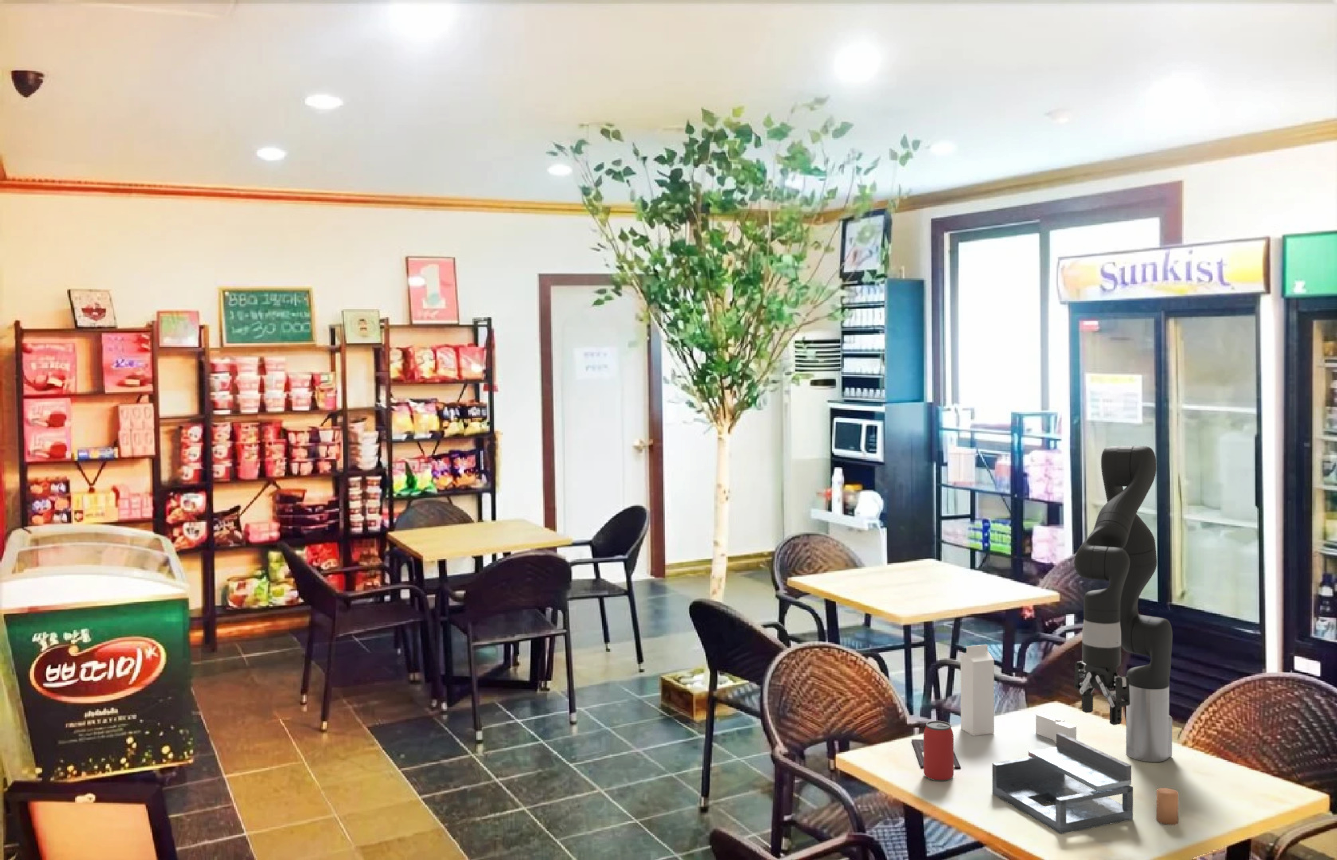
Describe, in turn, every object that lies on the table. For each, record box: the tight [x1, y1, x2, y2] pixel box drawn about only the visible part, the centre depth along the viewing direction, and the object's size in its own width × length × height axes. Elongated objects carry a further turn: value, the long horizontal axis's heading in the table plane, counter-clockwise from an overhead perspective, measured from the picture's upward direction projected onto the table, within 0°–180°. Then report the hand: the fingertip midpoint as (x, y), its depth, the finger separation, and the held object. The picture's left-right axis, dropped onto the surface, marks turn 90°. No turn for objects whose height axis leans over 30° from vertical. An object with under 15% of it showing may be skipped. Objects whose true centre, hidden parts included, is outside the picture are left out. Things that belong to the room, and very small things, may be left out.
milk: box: [960, 644, 995, 737], centre depth 280 cm, size 6×6×22 cm
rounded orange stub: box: [1155, 787, 1179, 826], centre depth 225 cm, size 4×4×6 cm
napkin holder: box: [1035, 712, 1077, 744], centre depth 273 cm, size 15×11×6 cm
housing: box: [991, 756, 1134, 835], centre depth 233 cm, size 18×22×7 cm
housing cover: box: [1028, 733, 1132, 791], centre depth 234 cm, size 9×21×4 cm, turn 20°
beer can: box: [923, 720, 955, 782], centre depth 251 cm, size 7×7×12 cm
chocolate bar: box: [911, 738, 962, 770], centre depth 265 cm, size 9×1×18 cm
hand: (1101, 718), depth 231 cm, fingers open, 8 cm apart
